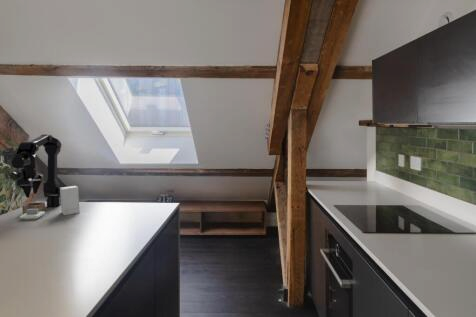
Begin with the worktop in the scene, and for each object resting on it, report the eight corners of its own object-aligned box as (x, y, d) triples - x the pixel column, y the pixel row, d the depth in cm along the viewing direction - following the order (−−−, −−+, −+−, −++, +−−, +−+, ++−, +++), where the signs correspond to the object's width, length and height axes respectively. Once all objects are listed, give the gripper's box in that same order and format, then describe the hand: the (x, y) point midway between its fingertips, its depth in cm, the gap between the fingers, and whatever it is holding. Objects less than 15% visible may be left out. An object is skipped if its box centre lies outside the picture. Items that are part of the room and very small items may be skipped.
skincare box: (77, 211, 182) (76, 185, 180) (80, 213, 177) (78, 186, 176) (60, 213, 177) (59, 187, 175) (63, 215, 172) (61, 188, 171)
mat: (53, 211, 180) (52, 211, 180) (41, 220, 164) (41, 219, 164) (31, 212, 178) (31, 212, 178) (17, 221, 162) (17, 220, 162)
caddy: (45, 210, 180) (44, 202, 180) (39, 214, 172) (38, 205, 172) (29, 211, 179) (28, 202, 178) (22, 215, 171) (22, 206, 170)
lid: (45, 215, 172) (44, 206, 172) (38, 219, 164) (38, 210, 163) (27, 215, 170) (26, 207, 170) (19, 220, 162) (19, 211, 161)
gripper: (20, 164, 173) (22, 192, 175) (3, 168, 155) (5, 200, 157) (43, 163, 175) (44, 191, 177) (28, 168, 157) (30, 199, 159)
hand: (31, 195), depth 167 cm, fingers open, 9 cm apart
